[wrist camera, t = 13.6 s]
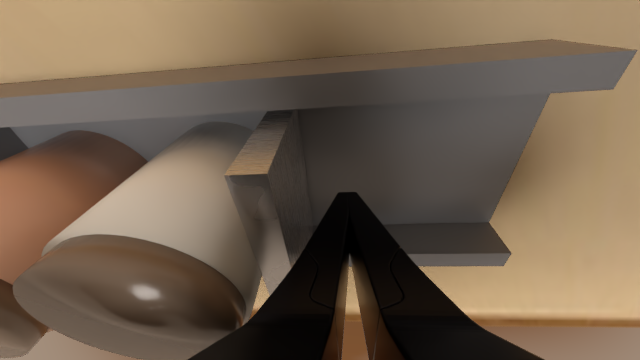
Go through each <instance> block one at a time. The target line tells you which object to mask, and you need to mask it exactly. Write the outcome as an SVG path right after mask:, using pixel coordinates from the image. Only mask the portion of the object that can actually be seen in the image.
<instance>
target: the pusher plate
mask: <svg viewBox="0 0 640 360" xmlns="http://www.w3.org/2000/svg"><path fill="white" fill-rule="evenodd" d="M224 177H225V180H226V182H227V185H228V188H229V190H230V193H231V195H232V198H233V201H234V203H235V206H236V209H237V211H238V214H239V216H240V219H241V222H242V224H243V227H244V229H245V232H246V235H247V237H248V240H249V242H250V245H251V248H252V250H253V253H254V255H255V258H256V261H257V263H258V266H259V269H260V271H261V274H262V276H263V279H264V282H265V284H266V287H267V289H268V292H269V295H271V294H272V293H273V291H274V290H275V289H276V288H277V286H278V285H279V284H280V283H281V281H282V280H283V279H284V277H285V276H286V275H287V273H288V272H289V271H290V269H291V268H292V267H293V265H294V264H295V262H296V261H297V259H298V257H299V256H300V254H301V253H302V251H303V249H305V246H306V244H307V243H308V241H309V239H310V238H311V236H312V230H313V220H312V212H311V205H310V198H309V191H308V183H307V176H306V169H305V161H304V154H303V147H302V139H301V132H300V125H299V117H298V110H297V109H290V110H274V111H267V112H266V114H265V115H264V117H263V118H262V120H261V121H260V123H259V124H258V126H257V127H256V129H255V130H254V132H253V133H252V135H251V136H250V138H249V139H248V141H247V142H246V143H245V145H244V146H243V148H242V149H241V151H240V152H239V154H238V155H237V157H236V158H235V160H234V161H233V163H232V164H231V166H230V167H229V169H228V170H227V172H226V173H225V174H224Z"/></svg>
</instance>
